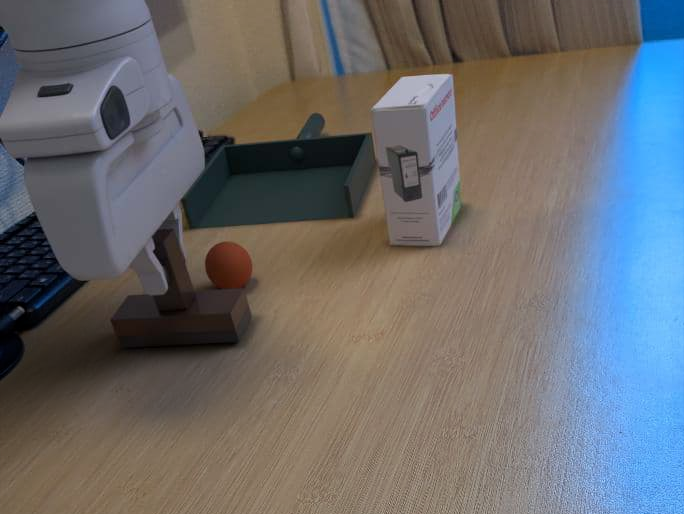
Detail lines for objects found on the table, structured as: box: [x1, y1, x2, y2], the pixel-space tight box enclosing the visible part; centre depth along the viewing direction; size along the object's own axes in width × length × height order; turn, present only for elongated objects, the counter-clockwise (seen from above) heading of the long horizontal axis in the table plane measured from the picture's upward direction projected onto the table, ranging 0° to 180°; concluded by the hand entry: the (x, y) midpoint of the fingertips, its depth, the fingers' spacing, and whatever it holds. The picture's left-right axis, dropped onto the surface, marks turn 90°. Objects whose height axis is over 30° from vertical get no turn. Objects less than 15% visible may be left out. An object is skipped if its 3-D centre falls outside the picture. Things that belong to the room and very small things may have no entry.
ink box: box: [370, 73, 462, 247], centre depth 72 cm, size 9×5×12 cm, turn 161°
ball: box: [204, 241, 253, 290], centre depth 71 cm, size 4×4×4 cm
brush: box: [109, 229, 253, 349], centre depth 64 cm, size 10×4×8 cm, turn 82°
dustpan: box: [180, 112, 377, 230], centre depth 89 cm, size 26×17×3 cm, turn 171°
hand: (168, 279), depth 63 cm, fingers closed on brush, 2 cm apart
